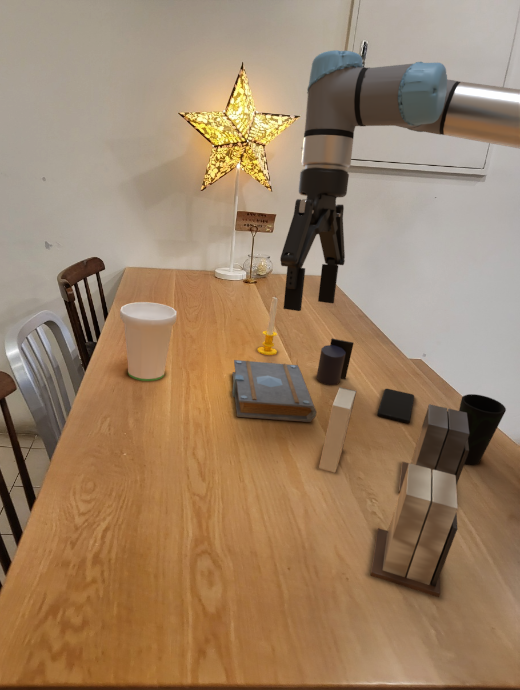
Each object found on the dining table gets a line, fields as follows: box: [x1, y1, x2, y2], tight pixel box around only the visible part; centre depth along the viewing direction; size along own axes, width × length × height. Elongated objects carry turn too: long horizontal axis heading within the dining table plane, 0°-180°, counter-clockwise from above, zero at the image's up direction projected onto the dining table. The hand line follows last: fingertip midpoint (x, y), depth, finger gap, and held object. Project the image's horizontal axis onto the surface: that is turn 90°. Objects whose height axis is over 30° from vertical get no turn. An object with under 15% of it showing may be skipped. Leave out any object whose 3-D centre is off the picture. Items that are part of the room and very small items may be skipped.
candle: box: [257, 295, 279, 356], centre depth 142 cm, size 5×5×16 cm
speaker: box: [316, 337, 355, 386], centre depth 130 cm, size 8×6×10 cm
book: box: [231, 359, 317, 423], centre depth 119 cm, size 21×16×5 cm
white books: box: [370, 462, 459, 598], centre depth 74 cm, size 9×10×14 cm
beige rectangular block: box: [318, 386, 357, 474], centre depth 97 cm, size 3×8×13 cm, turn 160°
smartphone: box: [377, 388, 415, 424], centre depth 122 cm, size 7×1×15 cm
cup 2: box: [458, 393, 507, 466], centre depth 102 cm, size 8×8×12 cm
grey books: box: [398, 403, 469, 495], centre depth 92 cm, size 9×10×14 cm
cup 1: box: [119, 301, 178, 382], centre depth 122 cm, size 12×12×15 cm
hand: (310, 306), depth 91 cm, fingers open, 13 cm apart
